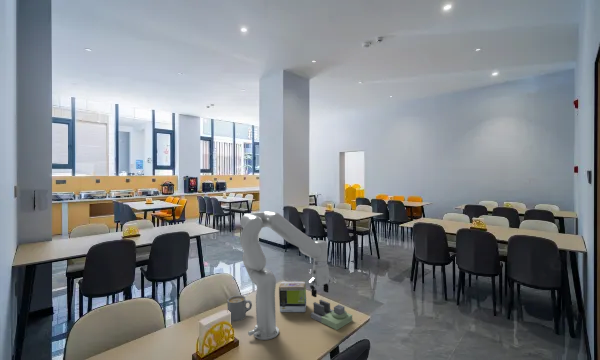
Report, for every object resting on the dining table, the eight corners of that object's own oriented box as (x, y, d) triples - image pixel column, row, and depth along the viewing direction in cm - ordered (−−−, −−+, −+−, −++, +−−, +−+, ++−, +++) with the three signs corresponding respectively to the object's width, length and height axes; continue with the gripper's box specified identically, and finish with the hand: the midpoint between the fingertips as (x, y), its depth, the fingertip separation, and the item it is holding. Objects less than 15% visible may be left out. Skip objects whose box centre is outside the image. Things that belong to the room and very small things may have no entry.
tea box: (306, 305, 170) (305, 280, 170) (305, 313, 160) (304, 287, 160) (282, 304, 172) (281, 280, 171) (279, 312, 162) (278, 286, 161)
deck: (336, 330, 141) (336, 315, 141) (310, 317, 155) (310, 304, 154) (352, 320, 150) (352, 306, 150) (326, 309, 163) (326, 296, 163)
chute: (323, 319, 151) (322, 306, 151) (313, 315, 156) (313, 302, 156) (330, 315, 155) (330, 303, 155) (321, 311, 160) (320, 299, 160)
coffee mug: (226, 321, 152) (226, 303, 152) (229, 313, 162) (228, 296, 162) (251, 319, 154) (251, 301, 154) (252, 311, 164) (251, 294, 164)
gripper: (314, 267, 147) (314, 300, 147) (335, 261, 159) (335, 292, 158) (304, 264, 152) (304, 296, 152) (325, 259, 164) (325, 288, 164)
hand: (320, 294), depth 155 cm, fingers open, 9 cm apart
